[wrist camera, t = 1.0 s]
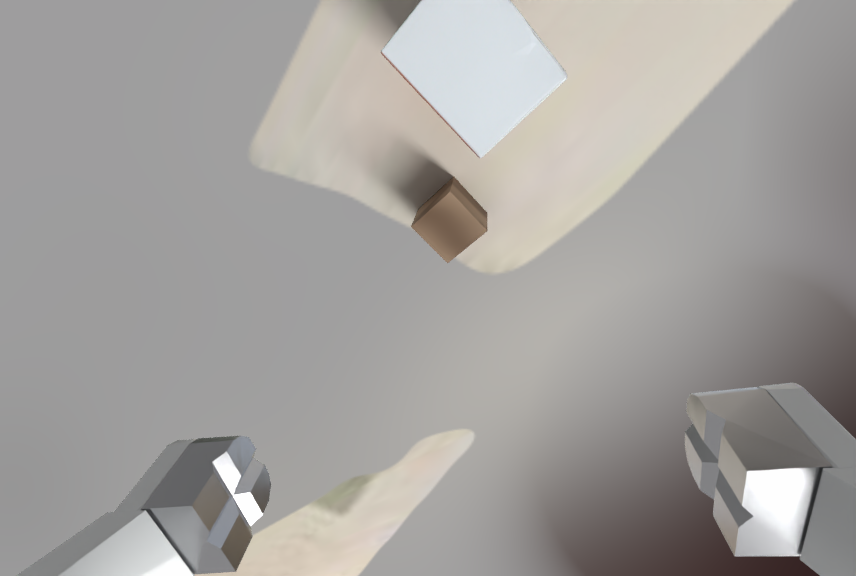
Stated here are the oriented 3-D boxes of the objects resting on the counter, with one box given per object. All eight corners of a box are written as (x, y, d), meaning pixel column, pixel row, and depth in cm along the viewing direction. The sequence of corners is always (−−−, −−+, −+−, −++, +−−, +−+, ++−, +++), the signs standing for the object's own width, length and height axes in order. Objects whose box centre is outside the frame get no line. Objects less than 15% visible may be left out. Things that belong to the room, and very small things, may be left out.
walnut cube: (453, 176, 39) (450, 191, 35) (487, 212, 40) (487, 230, 36) (418, 209, 41) (411, 226, 37) (451, 242, 42) (447, 263, 38)
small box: (411, 47, 34) (375, 50, 23) (471, -26, 32) (463, -62, 20) (482, 124, 37) (480, 161, 25) (543, 63, 34) (572, 74, 23)
